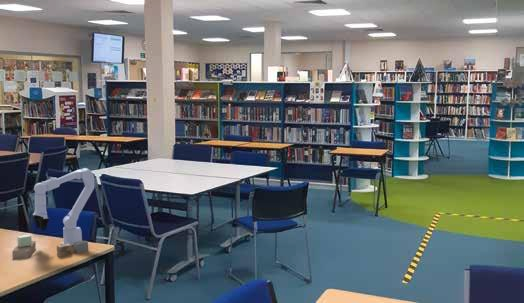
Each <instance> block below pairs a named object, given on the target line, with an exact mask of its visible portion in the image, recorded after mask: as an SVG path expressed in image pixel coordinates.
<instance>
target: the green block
mask: <svg viewBox="0 0 524 303" xmlns="http://www.w3.org/2000/svg"><path fill="white" fill-rule="evenodd" d="M32 239H33V238H32V235H31V234H24V235H17V245H18V246H19V247H24V246H30V245H32V241H33V240H32Z"/></svg>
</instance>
